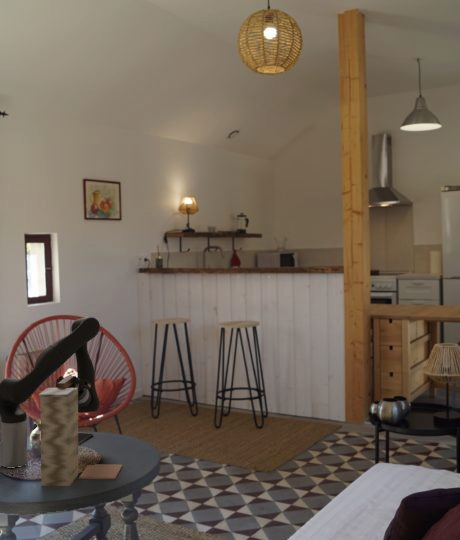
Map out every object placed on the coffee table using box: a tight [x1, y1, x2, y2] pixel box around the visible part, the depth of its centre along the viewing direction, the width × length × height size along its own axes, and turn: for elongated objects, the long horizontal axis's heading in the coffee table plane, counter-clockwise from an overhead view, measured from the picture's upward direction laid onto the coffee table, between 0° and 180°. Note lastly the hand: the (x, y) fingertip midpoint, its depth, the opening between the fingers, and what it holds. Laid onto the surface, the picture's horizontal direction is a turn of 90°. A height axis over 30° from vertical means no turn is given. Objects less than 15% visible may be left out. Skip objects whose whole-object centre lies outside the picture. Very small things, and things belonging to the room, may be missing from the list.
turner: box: [38, 375, 75, 398], centre depth 238 cm, size 10×23×2 cm, turn 178°
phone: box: [78, 432, 94, 447], centre depth 283 cm, size 8×1×15 cm
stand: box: [39, 388, 80, 487], centre depth 235 cm, size 10×12×32 cm
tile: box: [78, 463, 123, 480], centre depth 244 cm, size 13×14×1 cm
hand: (67, 378), depth 245 cm, fingers open, 4 cm apart
